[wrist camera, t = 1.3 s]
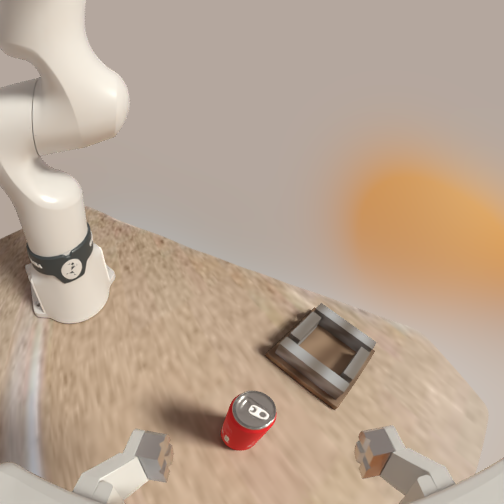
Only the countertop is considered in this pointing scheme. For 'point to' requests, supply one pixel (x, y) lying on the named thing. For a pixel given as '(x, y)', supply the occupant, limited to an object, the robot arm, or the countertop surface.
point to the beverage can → (248, 420)
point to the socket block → (324, 354)
